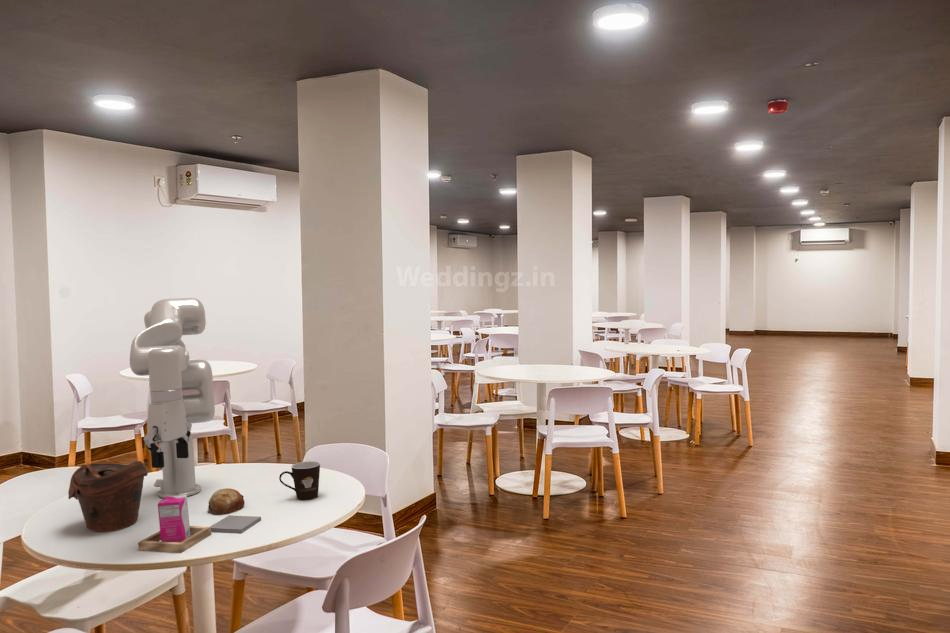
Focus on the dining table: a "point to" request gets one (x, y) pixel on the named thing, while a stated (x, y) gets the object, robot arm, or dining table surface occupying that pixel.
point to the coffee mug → (305, 479)
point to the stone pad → (235, 524)
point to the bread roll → (225, 501)
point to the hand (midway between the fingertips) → (170, 462)
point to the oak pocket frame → (155, 545)
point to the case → (108, 494)
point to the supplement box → (174, 519)
